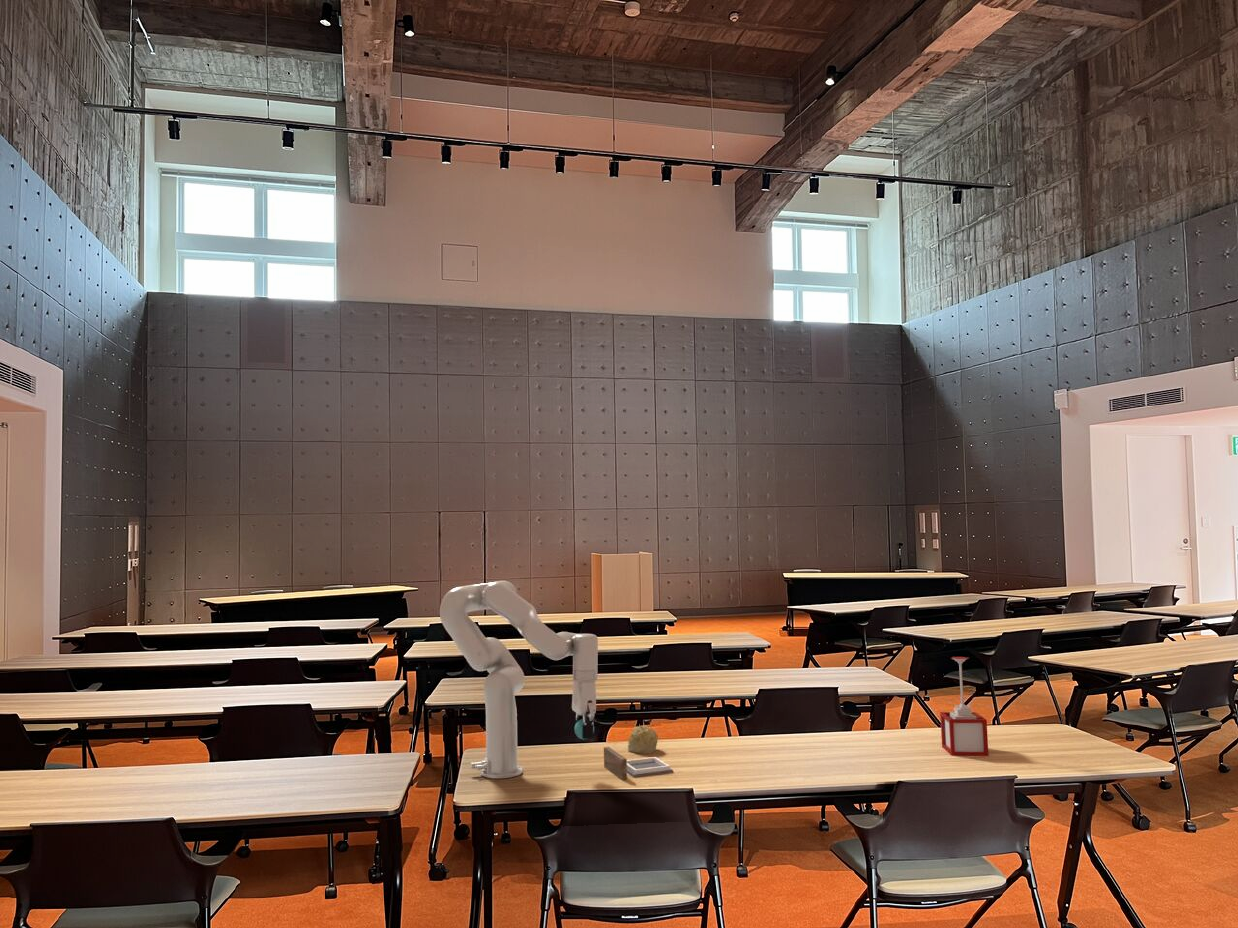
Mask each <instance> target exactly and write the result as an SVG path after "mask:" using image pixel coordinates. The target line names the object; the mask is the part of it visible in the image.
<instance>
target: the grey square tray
mask: <svg viewBox="0 0 1238 928" xmlns="http://www.w3.org/2000/svg"><path fill="white" fill-rule="evenodd" d="M670 773H671V774H672V773H674V770H673V769H672V768H671V765H669V764H668V763H666V762H665V761H663V760H661V759H659V758H658V757H656V756H653V757H642V758H634V759H628V760H627V775H628V774H629V775H630V776H631V777H633V778H638V777H640V778H641V777H648V776H655V775H662V774H670Z"/></svg>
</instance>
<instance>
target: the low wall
mask: <svg viewBox="0 0 1238 928" xmlns="http://www.w3.org/2000/svg"><path fill="white" fill-rule="evenodd" d="M603 767H604V768H605V769H607V770H608V771H609V772H610V773H611V774H613V775H614V776H616V777H617V778H618V779H619V780H621V781H627V780H628V773H627V758H626V757H624V756H623V755H622V754H620V753H619V752H617V751H616V750H614V749H613V748H611V747H609V746H605V747H603Z"/></svg>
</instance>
